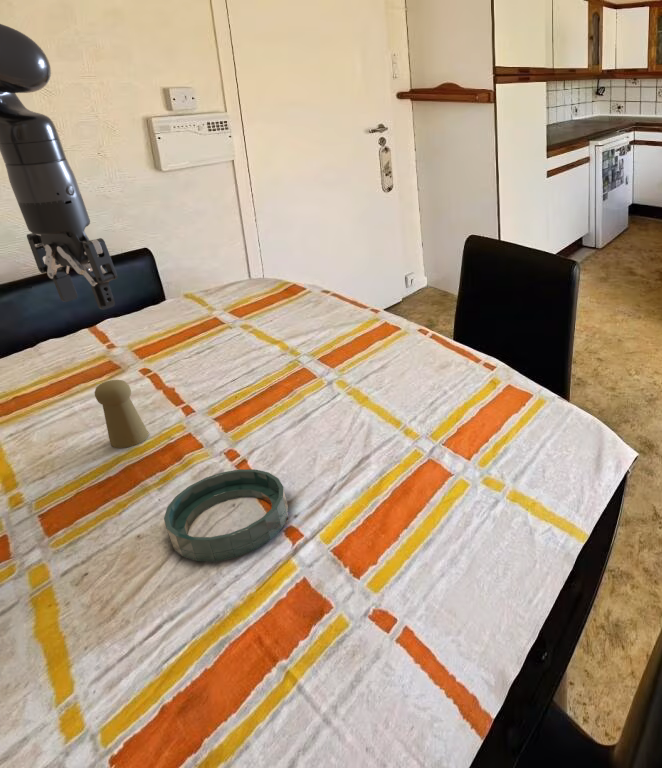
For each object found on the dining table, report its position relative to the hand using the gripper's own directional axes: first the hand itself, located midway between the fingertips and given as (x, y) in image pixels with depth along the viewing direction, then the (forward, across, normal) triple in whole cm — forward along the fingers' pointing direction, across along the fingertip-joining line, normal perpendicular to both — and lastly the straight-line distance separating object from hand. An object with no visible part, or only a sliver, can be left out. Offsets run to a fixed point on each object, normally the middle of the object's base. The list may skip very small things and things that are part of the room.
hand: (88, 303), depth 95 cm
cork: (+26, -4, +1) cm, 27 cm away
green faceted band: (+26, +31, -10) cm, 42 cm away
